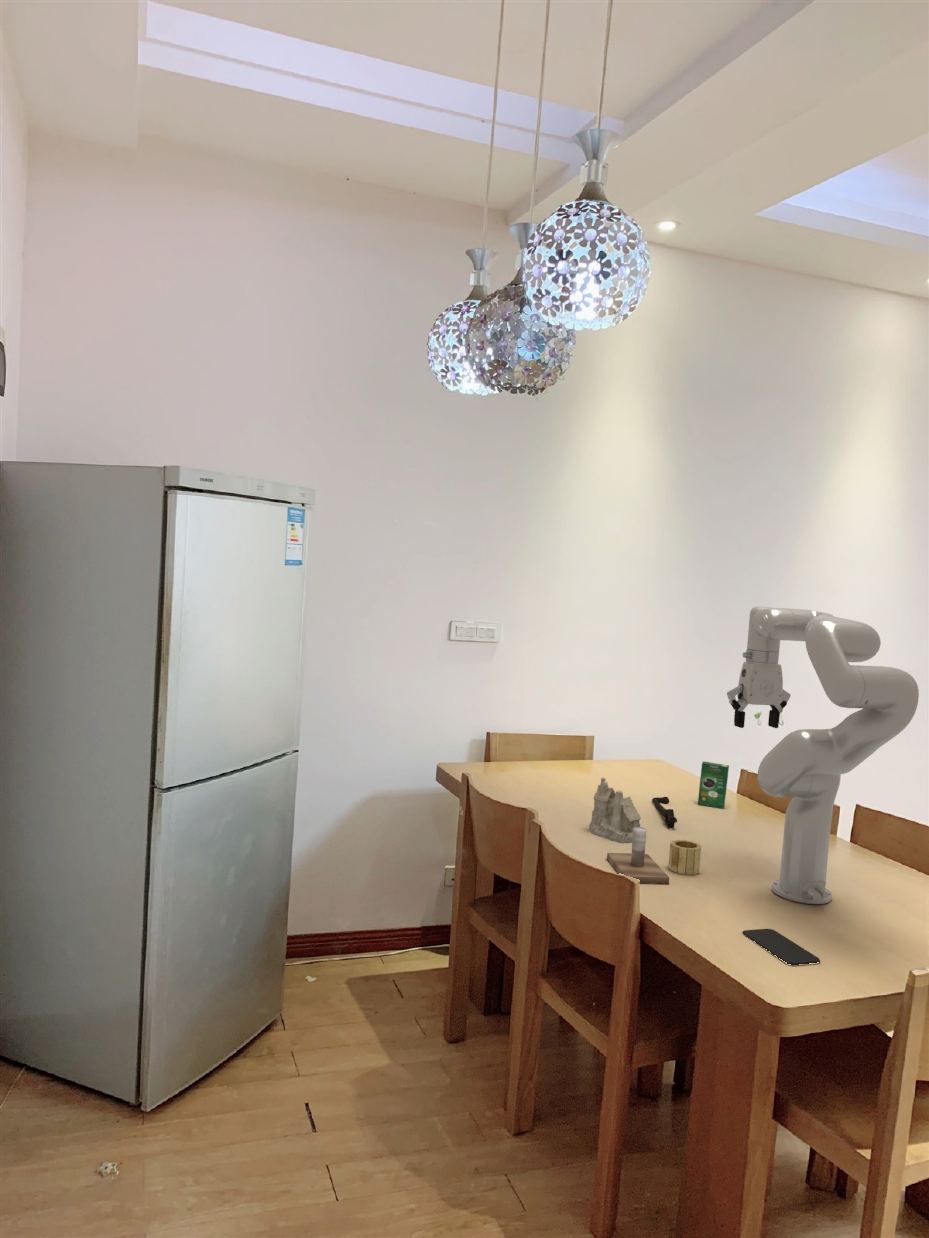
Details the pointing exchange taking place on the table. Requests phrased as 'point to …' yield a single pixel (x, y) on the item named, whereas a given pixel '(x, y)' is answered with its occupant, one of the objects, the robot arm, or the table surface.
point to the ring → (685, 857)
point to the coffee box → (713, 784)
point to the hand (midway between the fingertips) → (756, 726)
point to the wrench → (665, 811)
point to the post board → (638, 861)
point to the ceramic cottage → (613, 815)
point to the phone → (781, 946)
